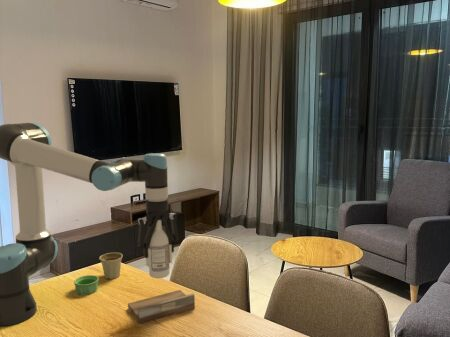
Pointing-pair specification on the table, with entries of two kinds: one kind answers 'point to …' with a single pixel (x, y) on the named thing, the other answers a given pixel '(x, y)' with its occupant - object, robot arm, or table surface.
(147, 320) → the brown piece
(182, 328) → the table surface
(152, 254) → the bath foam
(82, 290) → the ramekin
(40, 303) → the table surface
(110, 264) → the flower pot
